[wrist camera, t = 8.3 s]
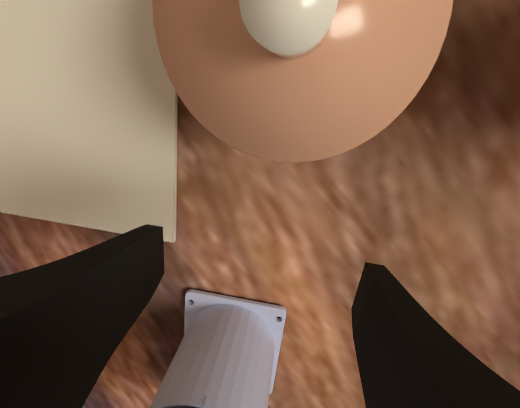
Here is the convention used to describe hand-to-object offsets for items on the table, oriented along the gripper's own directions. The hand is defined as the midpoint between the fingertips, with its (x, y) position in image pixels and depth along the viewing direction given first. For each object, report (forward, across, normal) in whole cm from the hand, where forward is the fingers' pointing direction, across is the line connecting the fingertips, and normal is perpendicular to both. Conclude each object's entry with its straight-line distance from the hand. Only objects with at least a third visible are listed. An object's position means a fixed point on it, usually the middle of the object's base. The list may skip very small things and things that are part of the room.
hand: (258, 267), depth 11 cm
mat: (+10, +14, -2) cm, 18 cm away
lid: (+4, 0, -8) cm, 9 cm away
